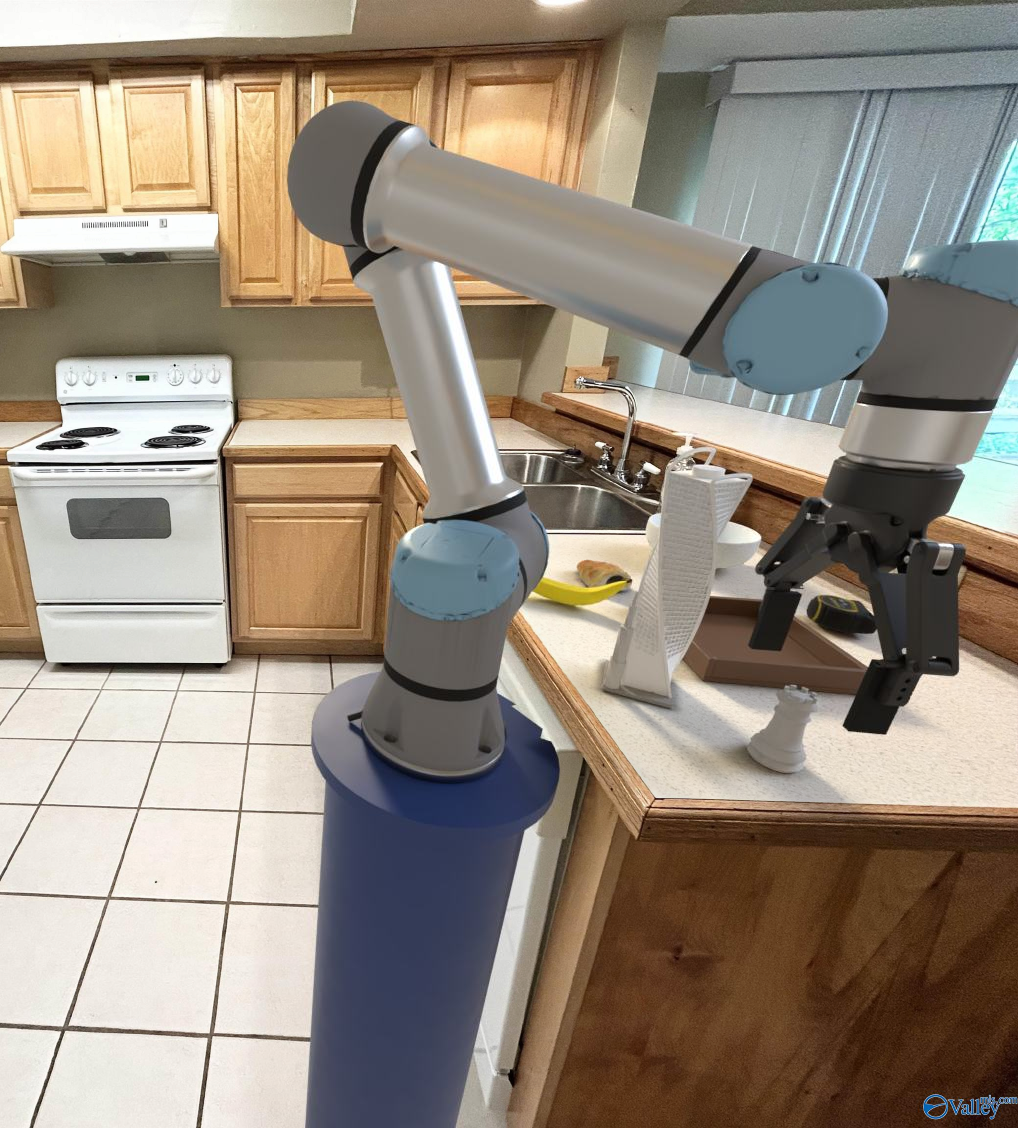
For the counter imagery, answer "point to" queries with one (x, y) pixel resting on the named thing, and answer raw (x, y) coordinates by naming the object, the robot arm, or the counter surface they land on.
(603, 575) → the pastry
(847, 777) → the counter surface
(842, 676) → the tray
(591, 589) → the banana
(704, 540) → the skyscraper
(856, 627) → the tape measure
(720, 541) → the cereal bowl
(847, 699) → the counter surface
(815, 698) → the rook chess piece
